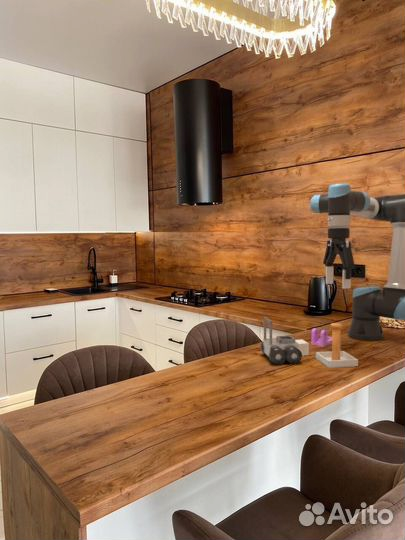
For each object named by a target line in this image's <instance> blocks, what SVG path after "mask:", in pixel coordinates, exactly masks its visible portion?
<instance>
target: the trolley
mask: <svg viewBox="0 0 405 540" xmlns="http://www.w3.org/2000/svg"><path fill="white" fill-rule="evenodd" d="M267 323H268V324H269V332H268V333H269V336H268V338H267ZM262 339H263V340H262V342H261V344H260V352H262V353H263V354H264V356H267V357H268V359H269V360H270V362H271V363H272V364H274V366H275V365H276V366H280V365H283V364H284V363H285V362H286V361H287V362H288V363H289V364H291V365H296V364H298V363H300V362H301V361H302V359H303V356H302V353H301V351H300V350H299V344H298V343H297V342H296V341H295V340H296V338H295V337H293V336H292V335H276V336H275V338H273V320H272V319H269V318H268V317H267V316H264V317H263V338H262Z"/></svg>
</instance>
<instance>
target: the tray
mask: <svg viewBox="0 0 405 540" xmlns="http://www.w3.org/2000/svg"><path fill="white" fill-rule="evenodd" d="M315 360H317V361H318V362H319V363H320V364H322V365H324V367H326V368H327V369H337V368H338V369H339V368H352V367H353V368H354V367H355V366H357V367H358V366H359V359H358V358H356V357H354V356H353V355H351V354H350V353H348V352H346V351H344V350H340V360H333V361H332V351H317V352H315ZM355 368H356V367H355Z"/></svg>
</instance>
